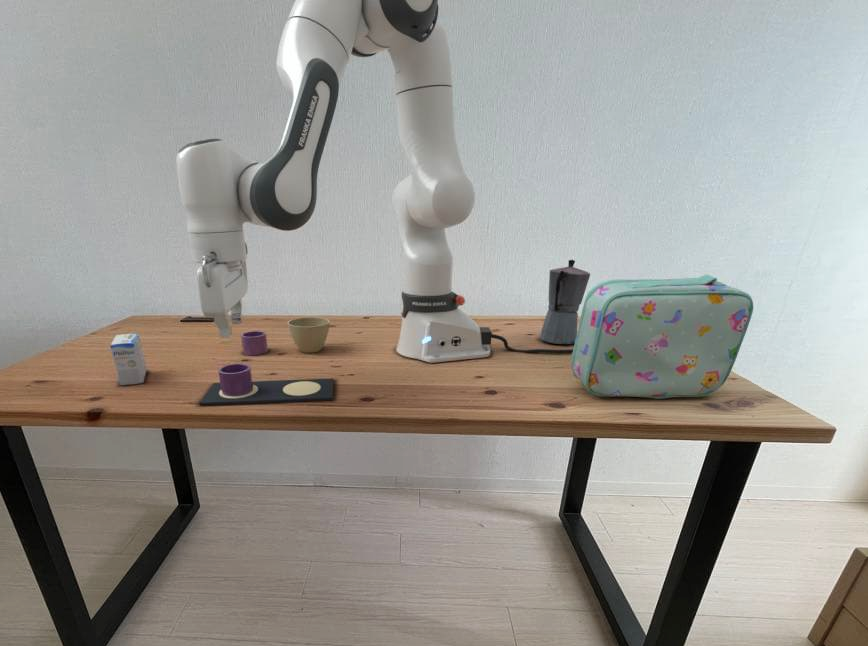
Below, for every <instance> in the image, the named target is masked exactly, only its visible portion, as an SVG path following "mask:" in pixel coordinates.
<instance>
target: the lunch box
mask: <svg viewBox="0 0 868 646" xmlns="http://www.w3.org/2000/svg"><path fill="white" fill-rule="evenodd" d="M753 312H754V301H753V298H752V296H751V295H750V294H749V293H747V292H746V291H743V290H741V289H739V288H736V287H733V286H730V285H727V284H726V283H723V282H721V281H718V278H717V277H714V276H713V275H710V274H704V275H701V276H698V277H685V278H684V277H683V278H663V279H662V278H661V279H656V278H655V279H650V278H649V279H626V278H625V279H623V278H621V279H619V278H615V279H607V280H604V281H601V282H599V283H597V284H595V285H594V286H593V287H592V288H591V289H590V290H589V291H588V292H587V294H586V296H585V299H584V302H583V306H582V310H581V314H580V319H579V323H578V327H577V337H576V340H575V343H574V345H573V348H572V349H573V353H571V363H570V365H571V371H572V374H573V376H574V377H575V378H576V379H578V381H580V382H581V384H582V385H583V386H584V387H585V389H586V391H588V392H589V393H590V394H592V395H594V396H597V397H606V398H607V397H611V398H613V397H614V398H615V397H616V398H619V397H620V398H621V397H623V398H624V397H632V398H649V399H654V400H661V399H667V398H668V399H669V398H699V397H705V396H709V395H712V394H713V393H715V392H717V391H718V390H719V389H720V388H721V387H722V386H723V385H724V384H725V383H726V381H727V380H728V379H729V377H730V375H731V372H732V370H733V368H734V365H735V363H736V360H737V357H738V355H739V352H740V350H741V347H742V343H743V342H744V339H745V336H746V333H747V331H748V328H749V325H750V322H751V320H752V317H753Z"/></svg>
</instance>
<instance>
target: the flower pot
mask: <svg viewBox="0 0 868 646" xmlns="http://www.w3.org/2000/svg"><path fill="white" fill-rule="evenodd" d="M330 322H331V321H330V319H328V318H324V317H317V316H306V317H304V316H303V317H297V318H293V319H290V320H289V321H287V326H288V330H289V333H290V335H291V338H292V341H293V342H294V344H295V345H296V347H297V348H298V350H299V351H300V352H301V353H306V354H314V353H318V352H320V351H321V350H322V349H323V347H324V346H325V343H326V340H327V339H328V334H329V330H330Z"/></svg>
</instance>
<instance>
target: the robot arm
mask: <svg viewBox="0 0 868 646" xmlns="http://www.w3.org/2000/svg"><path fill="white" fill-rule="evenodd" d="M438 2H439V0H294V3H293V5H292V8H291V9H290V12H289V15H288V17H287V20H286V23H285V25H284V28H283V31H282V34H281V37H280V39H279V44H278V48H277V55H276V62H275V67H276V71H277V74H278V77H279V79H280V82H281V84H282V85H283V87H284V88H285V89H286V91H287V92H288V93H289V94H290V95H292V104H291V107H290V111H289V113H288V118H287V120H286V125H285V128H284V131H283V134H282V137H281V141H280V143H279V146H278V149H277V150H276V152H275V153H274V154H273V155H272V157H271V158H269V159H268V160H267V161H265V162H261V163H260V162H259V161H256V160H254V159H251V158H249V157H247V156H246V155H244V154H242V153H240V152H239V151H237V150H236V149H234V148H232V147H231V145H228V144H227V142H226V141H225V140H224V139H220V138H206V139H201V140H197V141H194V142H189V143H187V144H185V145H183V146H181V148H180V149H179V150H178V152H177V153H176V175H177V176H176V177H177V182H178V191H179V195H180V202H181V205H182V207H183V209H184V212H185V214H186V219H187V227H186V232H187V237H188V242H189V247H190V253H191V258H192V262H193V263H196V264H201V266H199V267H198V268H197V270H196V281H197V283H196V284H197V289H198V290H197V291H198V296H199V304H200V309H201V312H202V314H203V315H204V317H206V318H210V317H211V318H212V317H213V320H214V323H215V325H216V327H217V329H218V334H219V337H220V338H221V339H230V338H231V337H232V335H233V331H232V330H233V329H232V325H240V324H242V323H243V321H244V319H243V298H244V297H245V296H246V295H247V293H248V288H249V286H248V285H249V282H248V270H247V269H248V268H247V259H248V253H249V250H248V244H247V242H246V241H245V240H246V239H245V235H244V234H245V233H244V227H243V225H244V224H245V223H248V224H252V225H255V226H261V227H269V228H273V229H276V230H278V231H285V232H289V231H290V232H291V231H295V230H298V229H300V228H302V227H303V226H305V225H306V223H308V222H309V220H311V217H312V216H313V214H314V211H315V209H316V204H317V197H318V173H319V169H320V163H321V160H322V156H323V153H324V149H325V147H326V142H327V140H328V135H329V133H330V129H331V126H332V122H333V119H334V115H335V111H336V107H337V104H338V99H339V93H340V85H341V83H342V79H343V77H344V75H345V72H346V69H347V66H348V64H349V61H350V58H351V55H352V56H354V57H358V58H369V57H374V56H375V55H377V54H378V53H381V52H383V51H386V50H387V53H388V54H389V56H390V58H391V61H392V64H393V68H394V87H395V102H396V114H397V115H396V116H397V128H398V140H399V143H400V145H401V147H402V148H403V150H404V152H405V156H406V158H407V162H408V165H409V170H410V173H411V174H409V175H407V176H406V177H405V178H403V179H402V180H400V181H399V182H398V184H397V185H396V186H395V187H394V190H393V192H392V195H391V207H392V209H393V212H394V214H395V217H396V219H397V220H396V221H397V226H398V231H399V236H400V242H401V243H400V244H401V249H402V259H403V284H402V285H403V286H402V287H403V290H402V292H401V297H400V314H401V317H402V318H401V326H400V333H399V336H398V337H399V338H398V341H397V346H396V349H395V350H396V353H397V354H399V355H401V356H403V357H406V358H409V359H415V360H420V361H423V362H426V363H432V364H434V363H443V362H444V363H445V362H454V361H462V360H472V359H482V358H483V359H484V358H489V357H490V356H491V347H490V346H491V345H492V339H496V340H499V341H501V342H503V345H504V346H503V347H504V349H506V350H507V351H509V352H514V353H522V354H523V353H524V354H538V353H539V354H573V349H574V348H572V349H571V348H570V349H569V348H567V349H549V348H534V349H515V348H513V347H511V346H510V345H509V343H508V340H507V339H506V338H505V337H503V336H501V335H498V334H494V333H493V331H492V330H491V328H490V327H489V326H479V324H478V323H477V322H476V321H475V320H474V319H473V318H472V317H470V316H469V315H468V314H466V313H465V312H464V311H463V310H462V309H461V308H459V307H461V306H464V304H465V303H466V298H465V297H464V296H462V295H461V294H460V295H458V293H456V292H454V291H452V287H453V286H452V285H453V266H454V265H453V264H454V258H453V253H452V250H451V249H450V247H449V244H448V239H447V235H446V230H445V229H450V228H452V227H455V226H457V225H459V224H462V223H464V222H465V221H466V220H467V219H468V218H469V217H470V215H471V213H472V211H473V209H474V207H475V206H474V205H475V203H476V202H475V201H476V193H475V192H476V191H475V187H474V186H473V183H472V181H471V180H470V178H469V177H468V176H467V174H466V172H465V170H464V168H463V164H462V160H461V156H460V152H459V149H458V144H457V139H456V133H455V119H454V118H455V117H454V94H453V72H452V63H451V56H450V49H449V48H450V47H449V43H448V38H447V34H446V30H445V29H444V27H443V25H442V24H441V23H440V22H439V21H438V17H439V4H438ZM229 313H230V320H231V324H232V325H230V321H229ZM489 345H490V346H489Z"/></svg>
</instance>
